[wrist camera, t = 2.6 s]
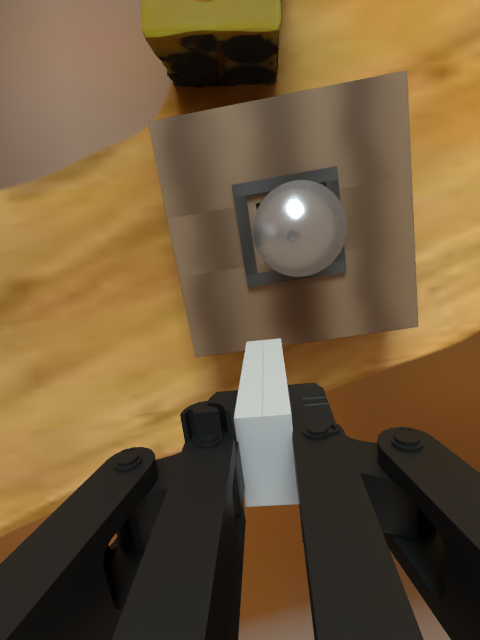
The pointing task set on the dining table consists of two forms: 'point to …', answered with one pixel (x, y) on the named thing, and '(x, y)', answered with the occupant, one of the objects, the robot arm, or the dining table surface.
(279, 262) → the grey piece
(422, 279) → the dining table surface
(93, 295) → the dining table surface
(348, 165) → the socket block
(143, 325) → the dining table surface
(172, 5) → the candle
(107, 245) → the dining table surface
